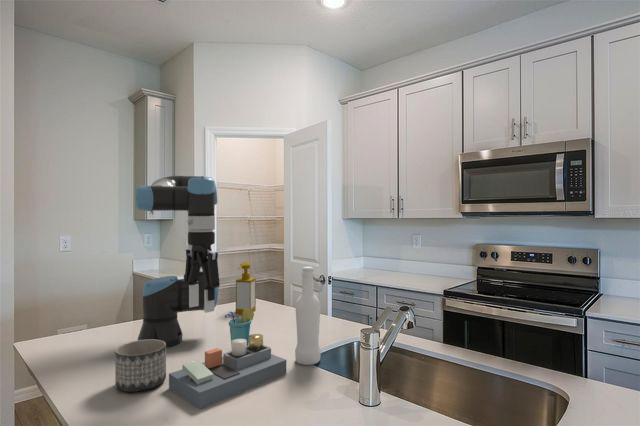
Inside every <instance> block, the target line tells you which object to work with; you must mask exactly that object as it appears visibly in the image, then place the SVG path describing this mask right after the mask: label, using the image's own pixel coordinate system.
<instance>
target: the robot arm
mask: <svg viewBox="0 0 640 426" xmlns="http://www.w3.org/2000/svg"><path fill="white" fill-rule="evenodd" d="M217 204H218V191H217V185H216V181H215V179H214V178H213V177H212V176H204V175H201V176H199V175H198V176H197V175H196V176H193V175H192V176H191V175H170V176H165V177H162V178H158V179H156V180H155V181H153V182H152V183H151V185H139V186H137V188H136V190H135V205H136V209H138V210H139V211H144V212H145V211H146V212H152V211H153V212H156V211H158V212H160V211H174V212H175V211H176V212H177V211H180V212H182V211H183V212H185V211H186V212H187V220H186V222H187V248H186V250H185V256H186V259H185V271H184V272H185V273H184V274H183V279H179V278H178V276H176V275H168V276H160V277H157V278H156V277H155V278H153V279H150V280H148V281H145V283H144V284H143V286H142V287H143V289H142V296H141V297H142V325H141V327H140V330H139V333H138V337H137V341H138V340H146V339H156V340H162V341H164V342H165V343H166V348H169V347H174V346H175V345H178V344H180V343H181V342H182V341H183V331H182V328H181V325H180V322H179V320H178V313H179V312H180V313H181V312H195V311H196V312H197V311H204V313H211V312H214V311H215V308H216V307H217V304H218V298H219V292H220V291H219V289H220V286H221V285H220V281H221V280H220V275H219V273H220V272H219V263H218V257H219V252H218V251H212V245H214V244H215V241H216V240H215V239H216V238H215V237H216V236H215V234H216V233H215V231H214V230H215V229H216V217H215V209H216V208H215V205H217Z"/></svg>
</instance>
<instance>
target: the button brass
mask: <svg viewBox="0 0 640 426" xmlns="http://www.w3.org/2000/svg"><path fill="white" fill-rule="evenodd" d="M263 345H264V334H261V333H253V334H249V345H248V346H249V349H250V350H261V349H262V348H263Z"/></svg>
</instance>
